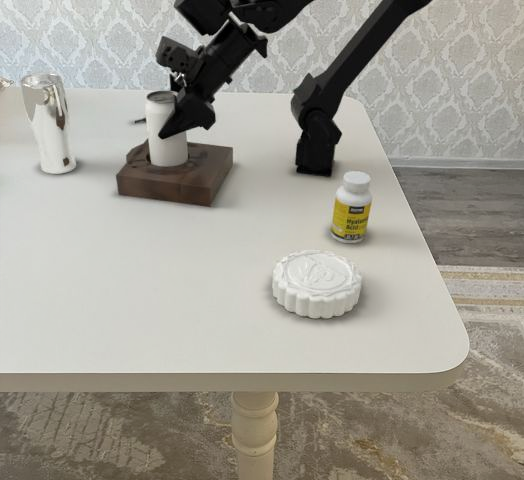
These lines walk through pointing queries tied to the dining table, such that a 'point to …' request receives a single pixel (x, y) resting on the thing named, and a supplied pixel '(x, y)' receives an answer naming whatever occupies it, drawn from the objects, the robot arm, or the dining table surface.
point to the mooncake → (316, 283)
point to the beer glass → (49, 120)
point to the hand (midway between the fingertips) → (158, 129)
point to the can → (157, 113)
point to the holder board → (176, 175)
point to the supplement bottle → (352, 208)
